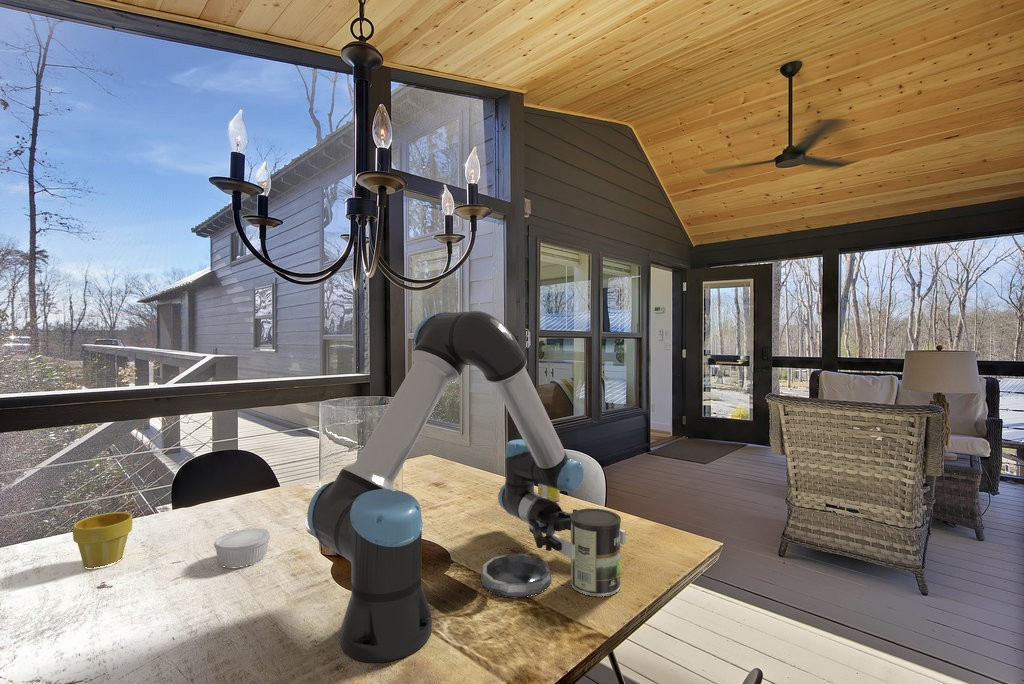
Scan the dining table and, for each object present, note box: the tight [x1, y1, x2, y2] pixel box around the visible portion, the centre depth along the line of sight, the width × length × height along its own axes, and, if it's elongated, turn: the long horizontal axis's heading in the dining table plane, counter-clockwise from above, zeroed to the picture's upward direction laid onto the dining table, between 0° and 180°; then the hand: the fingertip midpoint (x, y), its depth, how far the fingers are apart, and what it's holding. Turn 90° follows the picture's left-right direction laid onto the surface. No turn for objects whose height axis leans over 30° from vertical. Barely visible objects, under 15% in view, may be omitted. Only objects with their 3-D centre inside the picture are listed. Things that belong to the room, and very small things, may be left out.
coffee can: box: [570, 508, 622, 598], centre depth 102 cm, size 10×10×14 cm
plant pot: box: [72, 511, 133, 568], centre depth 111 cm, size 10×10×10 cm
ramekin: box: [213, 527, 271, 568], centre depth 113 cm, size 11×11×5 cm
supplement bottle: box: [537, 484, 561, 505], centre depth 151 cm, size 7×7×13 cm
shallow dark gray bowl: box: [480, 553, 552, 598], centre depth 104 cm, size 15×15×2 cm
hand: (599, 545), depth 101 cm, fingers open, 13 cm apart
